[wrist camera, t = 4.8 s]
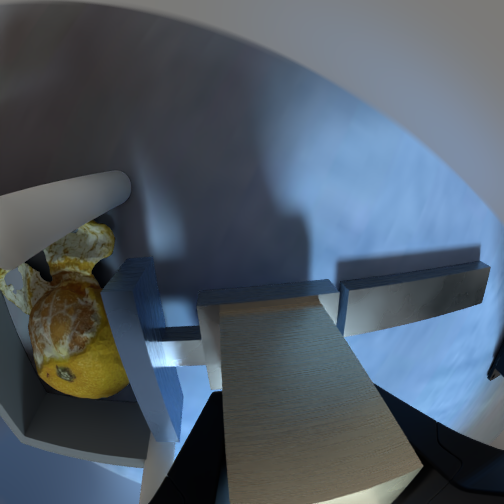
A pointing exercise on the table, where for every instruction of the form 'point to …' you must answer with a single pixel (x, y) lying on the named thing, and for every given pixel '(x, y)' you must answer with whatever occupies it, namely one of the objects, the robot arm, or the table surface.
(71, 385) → the fruit
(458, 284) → the rail
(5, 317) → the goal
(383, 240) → the table surface
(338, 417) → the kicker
